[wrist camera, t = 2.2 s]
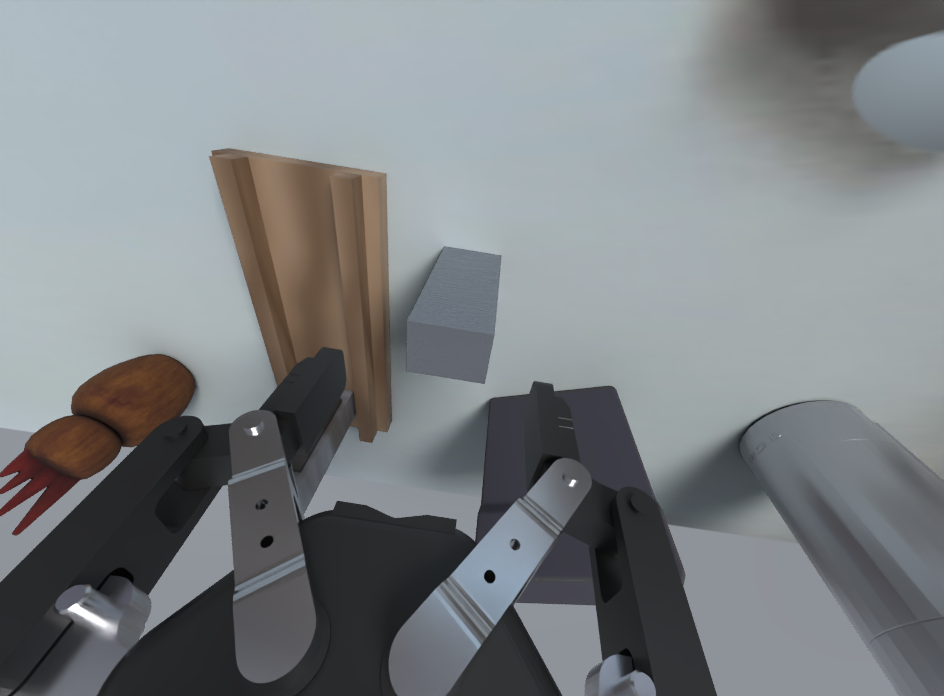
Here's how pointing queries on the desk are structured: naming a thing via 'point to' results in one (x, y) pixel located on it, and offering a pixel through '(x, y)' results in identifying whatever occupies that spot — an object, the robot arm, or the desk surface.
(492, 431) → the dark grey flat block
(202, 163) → the desk surface
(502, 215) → the desk surface
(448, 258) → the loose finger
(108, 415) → the wooden figurine
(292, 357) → the rail
